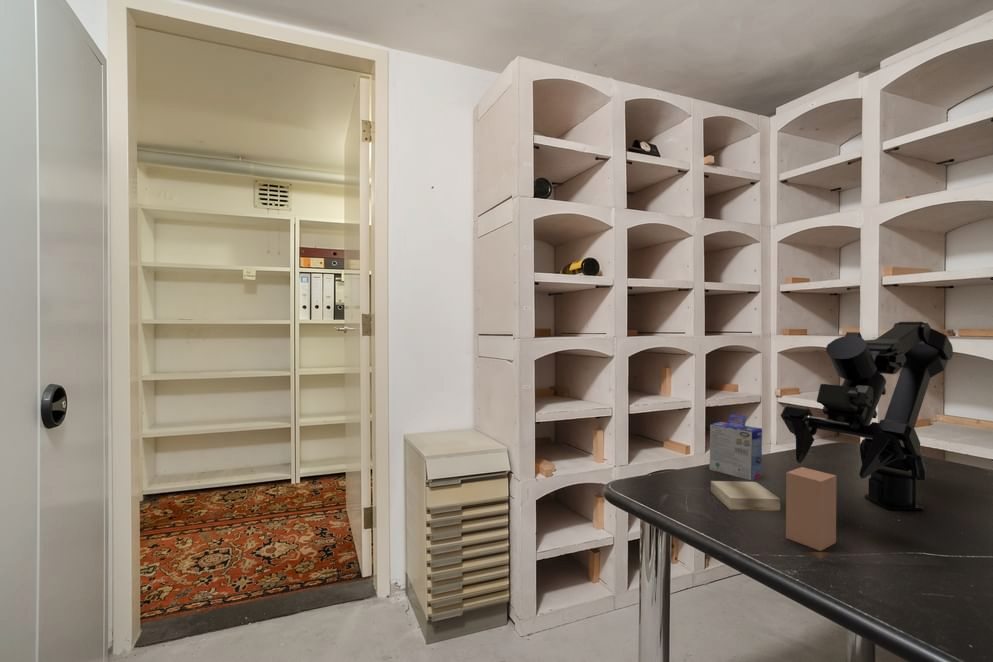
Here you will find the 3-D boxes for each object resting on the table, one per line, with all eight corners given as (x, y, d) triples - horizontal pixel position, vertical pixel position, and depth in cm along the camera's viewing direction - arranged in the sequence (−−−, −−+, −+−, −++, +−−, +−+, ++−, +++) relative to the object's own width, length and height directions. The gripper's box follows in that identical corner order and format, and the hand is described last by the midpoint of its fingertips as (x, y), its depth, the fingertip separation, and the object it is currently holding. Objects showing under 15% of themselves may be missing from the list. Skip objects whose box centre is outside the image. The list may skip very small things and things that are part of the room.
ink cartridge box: (763, 481, 103) (763, 417, 103) (752, 486, 100) (752, 421, 100) (720, 470, 111) (720, 411, 111) (708, 474, 108) (708, 414, 107)
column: (801, 537, 76) (801, 467, 76) (835, 550, 72) (836, 475, 72) (785, 545, 74) (786, 472, 73) (820, 559, 69) (821, 481, 69)
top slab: (755, 491, 93) (755, 481, 93) (780, 509, 84) (780, 499, 84) (710, 490, 94) (710, 481, 94) (730, 508, 85) (730, 498, 85)
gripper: (786, 363, 86) (753, 428, 80) (914, 372, 70) (884, 453, 65) (806, 400, 90) (776, 464, 85) (932, 417, 74) (905, 497, 69)
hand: (828, 468), depth 76 cm, fingers open, 9 cm apart
